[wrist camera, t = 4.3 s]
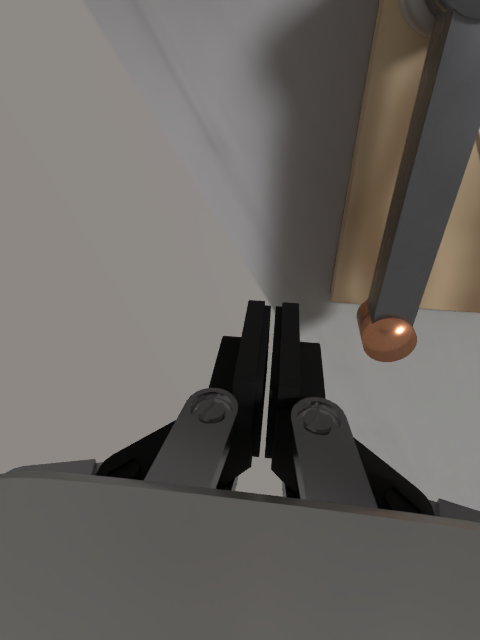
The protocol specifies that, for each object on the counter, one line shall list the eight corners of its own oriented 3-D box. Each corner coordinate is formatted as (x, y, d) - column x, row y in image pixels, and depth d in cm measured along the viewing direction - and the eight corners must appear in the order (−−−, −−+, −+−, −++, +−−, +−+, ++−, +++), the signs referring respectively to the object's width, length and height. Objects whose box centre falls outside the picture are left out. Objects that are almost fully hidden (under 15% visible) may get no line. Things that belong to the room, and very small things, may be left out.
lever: (437, -117, 14) (468, -158, 12) (559, -123, 14) (619, -167, 11) (344, 330, 27) (349, 358, 24) (406, 335, 26) (418, 364, 24)
